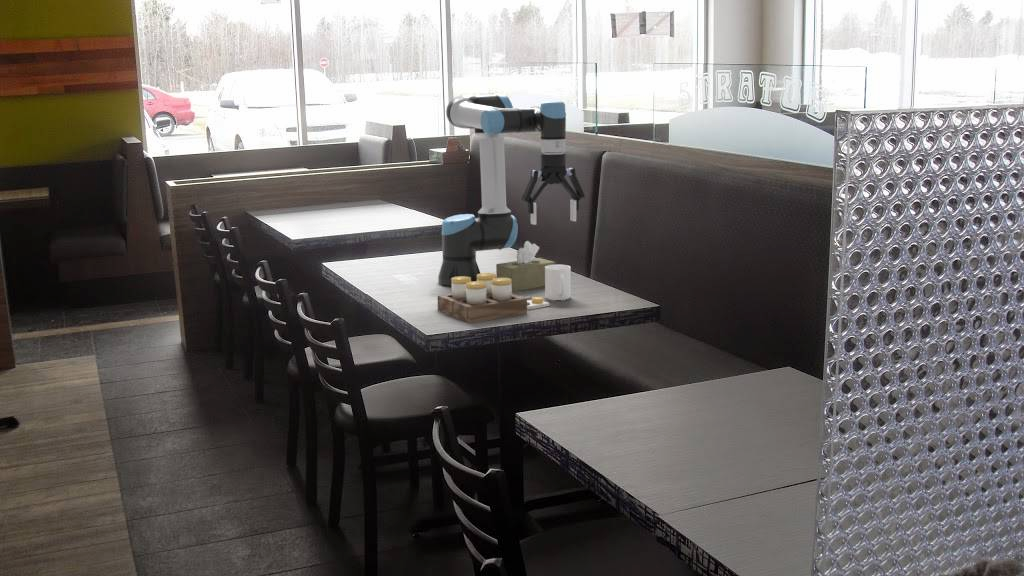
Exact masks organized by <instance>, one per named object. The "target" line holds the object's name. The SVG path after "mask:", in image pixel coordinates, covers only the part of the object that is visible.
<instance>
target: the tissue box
mask: <svg viewBox="0 0 1024 576" xmlns="http://www.w3.org/2000/svg"><path fill="white" fill-rule="evenodd" d="M539 250H540V246H538V245H537V244H536V243H531V242H530V241H529V240H526V241H525V242H524V244H523V247H519V249H518V250H516V260H515V261H509V262H502V263H497V264H496V266H495V267H496V271H495V274H496V278H510V279H512V292H517V291H523V290H524V291H525V290H530V289H535V288H542V287H545V266H548V265H556V262H555V261H553V260H548V259H545V258H541V257H537V258H535V256H536V255H537V253H538V251H539Z"/></svg>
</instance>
